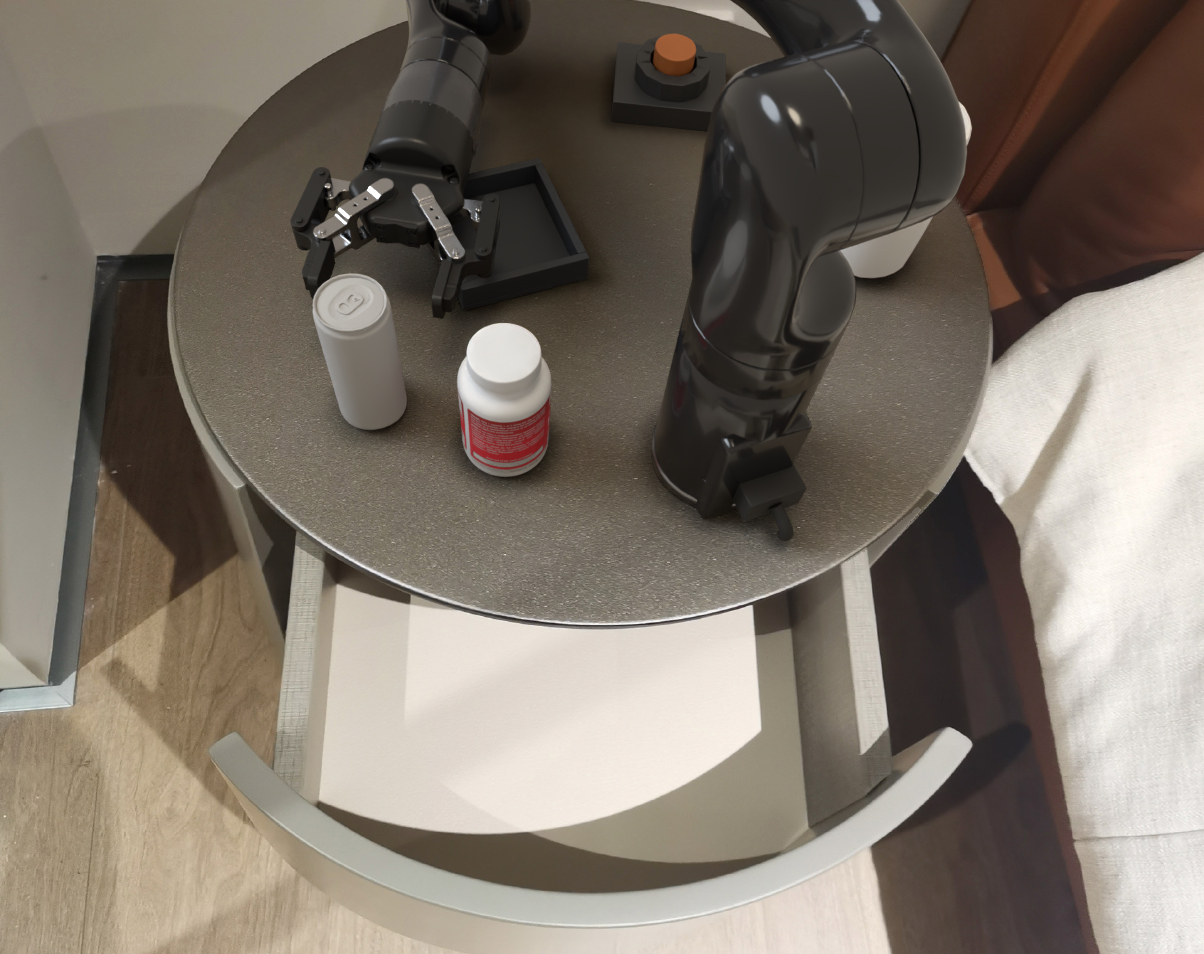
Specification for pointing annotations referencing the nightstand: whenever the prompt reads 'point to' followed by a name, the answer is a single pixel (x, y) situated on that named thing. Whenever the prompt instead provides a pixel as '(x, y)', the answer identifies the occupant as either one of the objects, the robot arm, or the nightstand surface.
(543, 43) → the nightstand surface
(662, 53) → the button
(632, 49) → the control block
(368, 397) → the beverage can
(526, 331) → the pill bottle
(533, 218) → the tray
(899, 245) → the cup
